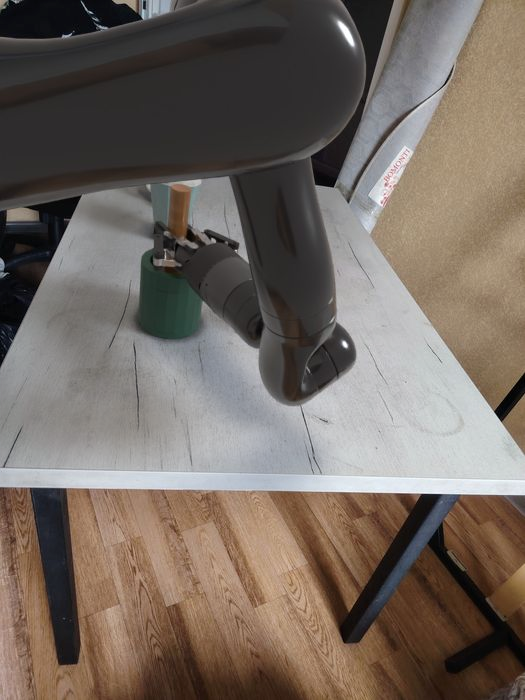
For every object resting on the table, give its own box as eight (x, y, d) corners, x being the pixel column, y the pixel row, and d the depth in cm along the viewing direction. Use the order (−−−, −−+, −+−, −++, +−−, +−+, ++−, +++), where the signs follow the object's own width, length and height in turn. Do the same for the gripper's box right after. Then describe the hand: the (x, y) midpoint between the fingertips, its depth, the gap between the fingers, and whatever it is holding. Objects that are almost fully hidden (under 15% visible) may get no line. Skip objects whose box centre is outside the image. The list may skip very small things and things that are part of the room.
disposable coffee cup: (151, 248, 97) (155, 175, 88) (139, 225, 104) (142, 154, 95) (201, 247, 101) (210, 177, 92) (186, 225, 109) (193, 158, 100)
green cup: (147, 342, 73) (151, 280, 67) (132, 306, 80) (134, 247, 73) (207, 335, 78) (216, 276, 71) (188, 302, 84) (195, 245, 78)
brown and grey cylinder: (161, 307, 74) (170, 193, 63) (153, 292, 77) (161, 180, 66) (188, 305, 76) (201, 194, 65) (179, 290, 79) (191, 182, 68)
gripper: (277, 252, 63) (211, 199, 73) (181, 265, 55) (122, 204, 65) (265, 300, 67) (205, 243, 77) (176, 318, 60) (121, 253, 70)
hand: (167, 226), depth 71 cm, fingers closed on brown and grey cylinder, 3 cm apart
